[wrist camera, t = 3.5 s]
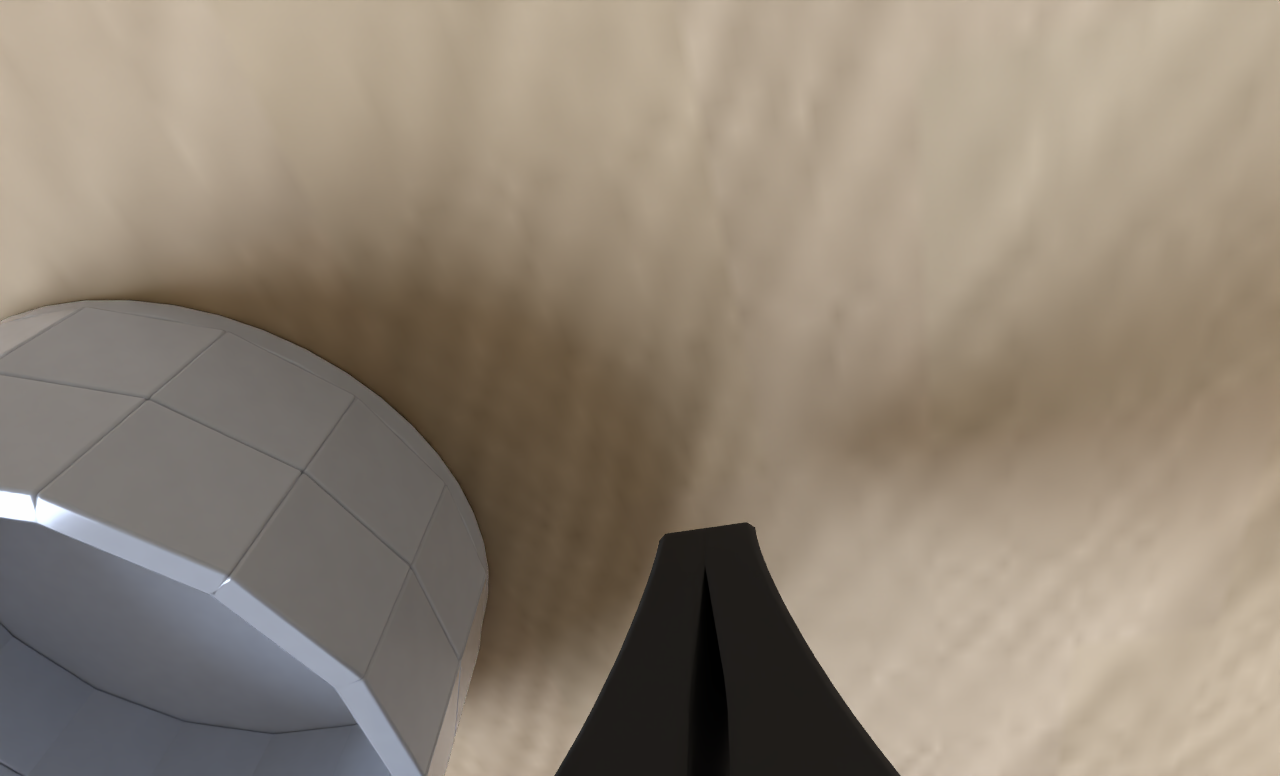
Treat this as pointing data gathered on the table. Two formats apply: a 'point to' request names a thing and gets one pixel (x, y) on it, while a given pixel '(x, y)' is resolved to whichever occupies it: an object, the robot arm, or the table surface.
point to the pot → (221, 557)
